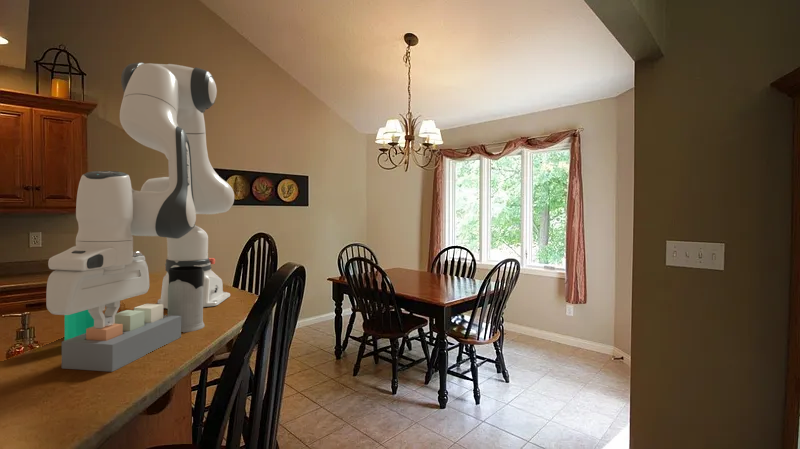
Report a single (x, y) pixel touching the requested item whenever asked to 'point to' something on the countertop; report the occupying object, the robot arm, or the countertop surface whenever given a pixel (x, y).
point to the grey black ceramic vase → (186, 296)
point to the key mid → (130, 319)
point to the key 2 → (151, 312)
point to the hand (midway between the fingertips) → (104, 326)
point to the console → (119, 346)
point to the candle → (77, 324)
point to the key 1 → (104, 332)
